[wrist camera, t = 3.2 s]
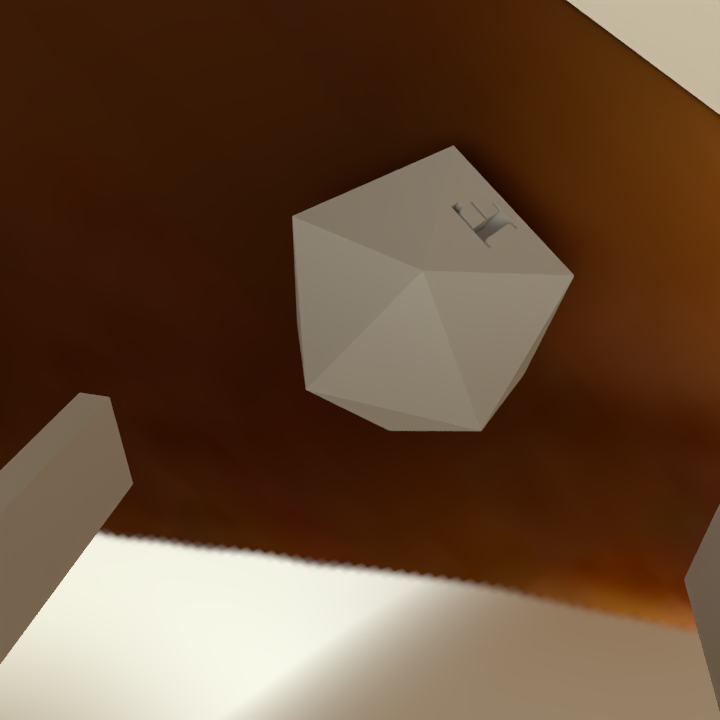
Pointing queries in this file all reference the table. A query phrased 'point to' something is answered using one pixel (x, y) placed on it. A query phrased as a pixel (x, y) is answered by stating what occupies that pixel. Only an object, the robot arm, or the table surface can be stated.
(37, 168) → the table surface
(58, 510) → the robot arm
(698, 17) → the board
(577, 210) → the table surface
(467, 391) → the die
